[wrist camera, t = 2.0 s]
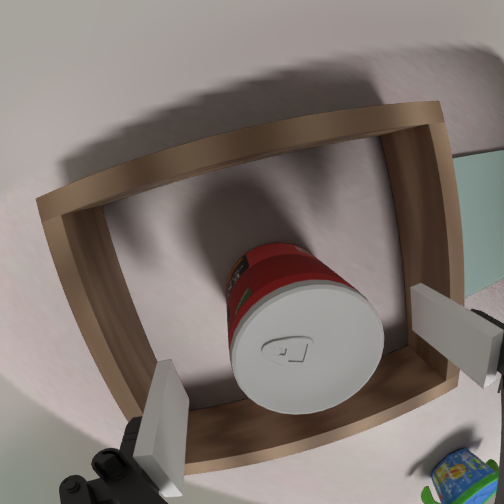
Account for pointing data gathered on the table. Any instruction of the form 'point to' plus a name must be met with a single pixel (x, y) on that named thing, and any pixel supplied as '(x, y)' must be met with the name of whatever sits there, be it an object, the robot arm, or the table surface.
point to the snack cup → (463, 480)
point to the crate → (237, 152)
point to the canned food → (298, 331)
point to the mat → (481, 217)
